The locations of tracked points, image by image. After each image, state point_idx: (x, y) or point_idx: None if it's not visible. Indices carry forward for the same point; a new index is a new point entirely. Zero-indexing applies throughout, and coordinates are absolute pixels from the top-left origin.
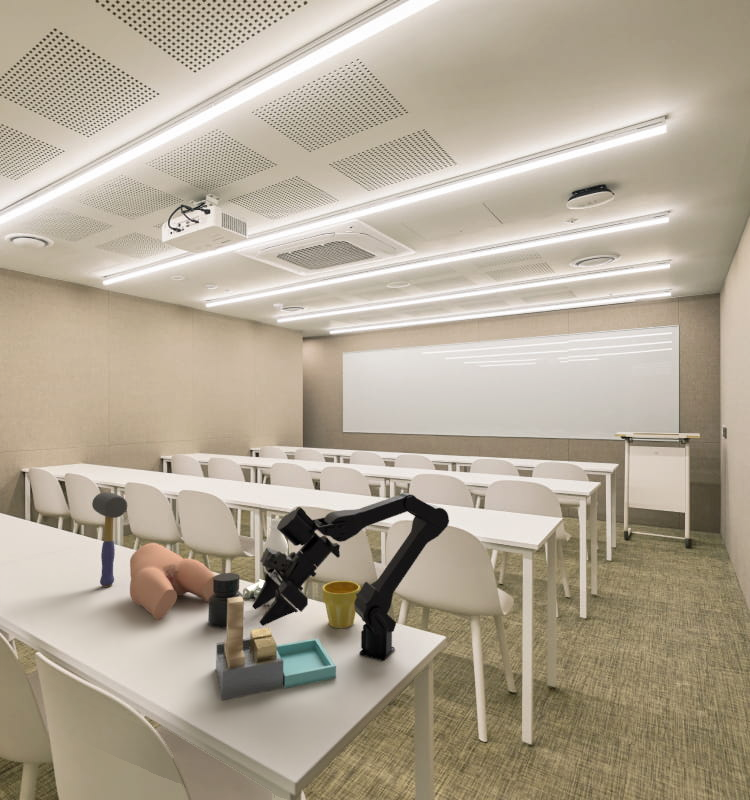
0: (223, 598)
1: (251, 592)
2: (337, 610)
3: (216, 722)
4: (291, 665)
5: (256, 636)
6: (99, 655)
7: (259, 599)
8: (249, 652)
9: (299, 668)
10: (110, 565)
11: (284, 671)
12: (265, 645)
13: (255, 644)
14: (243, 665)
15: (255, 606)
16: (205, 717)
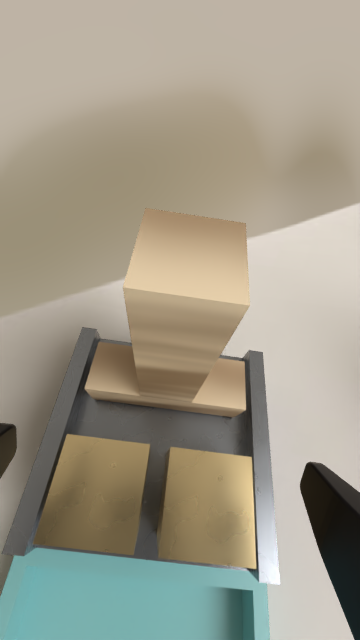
0: None
1: None
2: None
3: (29, 331)
4: (145, 625)
5: (176, 464)
6: (345, 228)
7: (352, 536)
8: (201, 448)
9: None
10: None
11: (49, 555)
12: (65, 478)
13: (115, 440)
14: (77, 386)
15: (311, 487)
16: (61, 318)
